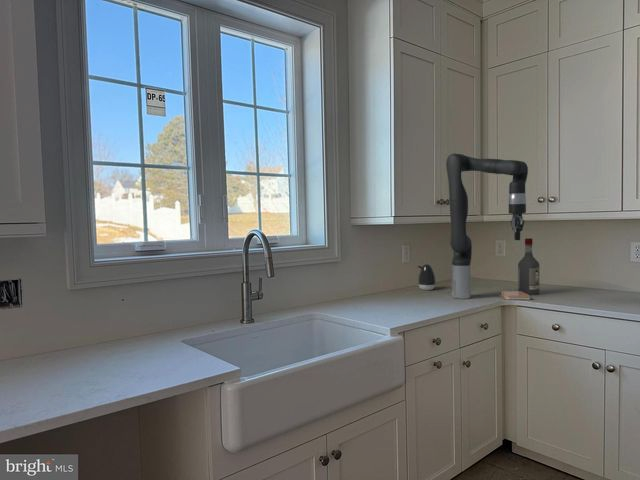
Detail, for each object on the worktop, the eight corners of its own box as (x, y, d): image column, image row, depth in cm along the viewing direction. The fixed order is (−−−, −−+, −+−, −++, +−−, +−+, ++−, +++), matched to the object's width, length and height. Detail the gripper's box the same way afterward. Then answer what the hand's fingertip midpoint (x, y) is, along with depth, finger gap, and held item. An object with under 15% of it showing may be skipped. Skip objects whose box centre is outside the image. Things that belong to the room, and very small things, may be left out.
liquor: (516, 293, 238) (516, 238, 237) (524, 291, 244) (524, 238, 242) (532, 295, 231) (532, 239, 230) (541, 293, 236) (541, 238, 235)
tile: (509, 295, 220) (501, 290, 233) (509, 299, 220) (501, 294, 233) (529, 295, 218) (520, 290, 232) (529, 299, 218) (520, 294, 232)
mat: (504, 299, 221) (504, 298, 221) (497, 295, 233) (497, 294, 233) (533, 299, 219) (533, 298, 219) (525, 295, 231) (525, 294, 231)
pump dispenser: (417, 288, 263) (416, 263, 262) (434, 288, 261) (434, 263, 261) (418, 291, 253) (418, 265, 252) (436, 291, 251) (436, 264, 251)
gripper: (530, 202, 197) (530, 240, 198) (520, 203, 211) (521, 239, 211) (513, 203, 198) (513, 240, 199) (504, 204, 211) (504, 239, 212)
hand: (517, 240), depth 205 cm, fingers closed
